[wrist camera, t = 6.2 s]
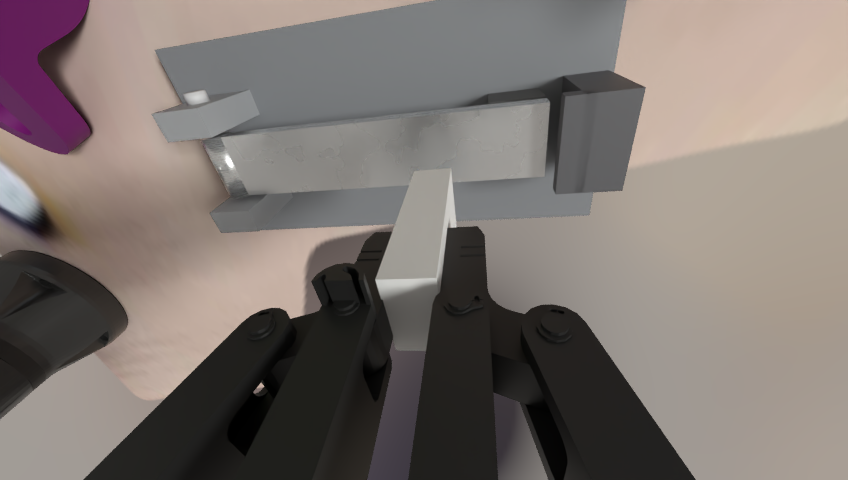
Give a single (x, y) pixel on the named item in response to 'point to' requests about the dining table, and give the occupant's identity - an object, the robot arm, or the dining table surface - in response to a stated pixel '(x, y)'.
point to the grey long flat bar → (385, 149)
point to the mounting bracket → (37, 74)
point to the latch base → (419, 98)
